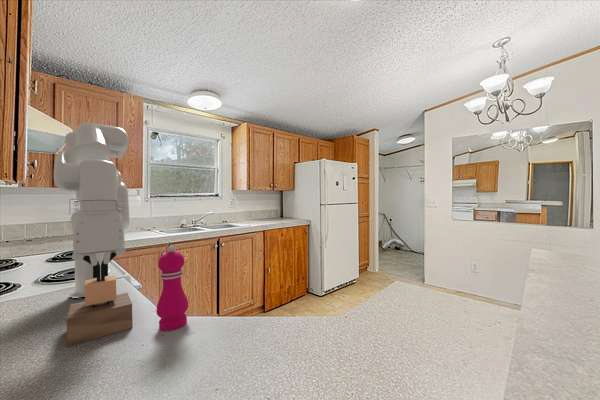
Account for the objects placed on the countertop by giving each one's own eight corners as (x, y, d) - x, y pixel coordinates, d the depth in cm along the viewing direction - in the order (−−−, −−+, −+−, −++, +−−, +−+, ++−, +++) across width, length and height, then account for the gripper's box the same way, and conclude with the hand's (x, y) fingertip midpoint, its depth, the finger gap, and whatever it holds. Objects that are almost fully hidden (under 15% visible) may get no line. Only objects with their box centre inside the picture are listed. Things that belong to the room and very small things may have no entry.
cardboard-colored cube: (85, 299, 63) (85, 280, 63) (114, 293, 67) (114, 275, 67) (84, 306, 59) (84, 285, 59) (116, 299, 62) (115, 279, 63)
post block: (71, 327, 63) (70, 304, 64) (127, 313, 71) (127, 292, 71) (67, 346, 54) (66, 319, 54) (132, 327, 62) (132, 303, 62)
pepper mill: (175, 333, 58) (173, 248, 59) (149, 331, 60) (147, 248, 60) (194, 319, 65) (192, 243, 66) (171, 318, 67) (168, 243, 67)
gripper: (132, 207, 71) (134, 271, 70) (60, 210, 62) (61, 284, 61) (135, 206, 66) (137, 276, 65) (57, 208, 56) (58, 290, 55)
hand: (100, 279), depth 63 cm, fingers closed
